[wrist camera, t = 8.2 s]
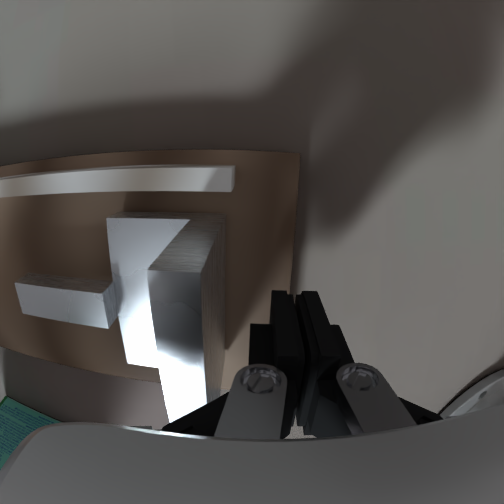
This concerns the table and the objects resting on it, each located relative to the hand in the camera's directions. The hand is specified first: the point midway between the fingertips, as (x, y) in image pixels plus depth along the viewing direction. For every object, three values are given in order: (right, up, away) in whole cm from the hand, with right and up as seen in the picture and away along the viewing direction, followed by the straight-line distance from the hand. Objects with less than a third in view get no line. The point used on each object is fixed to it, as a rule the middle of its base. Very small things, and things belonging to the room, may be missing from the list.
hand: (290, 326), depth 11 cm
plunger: (-7, +1, +2) cm, 8 cm away
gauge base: (-12, +2, +4) cm, 13 cm away
